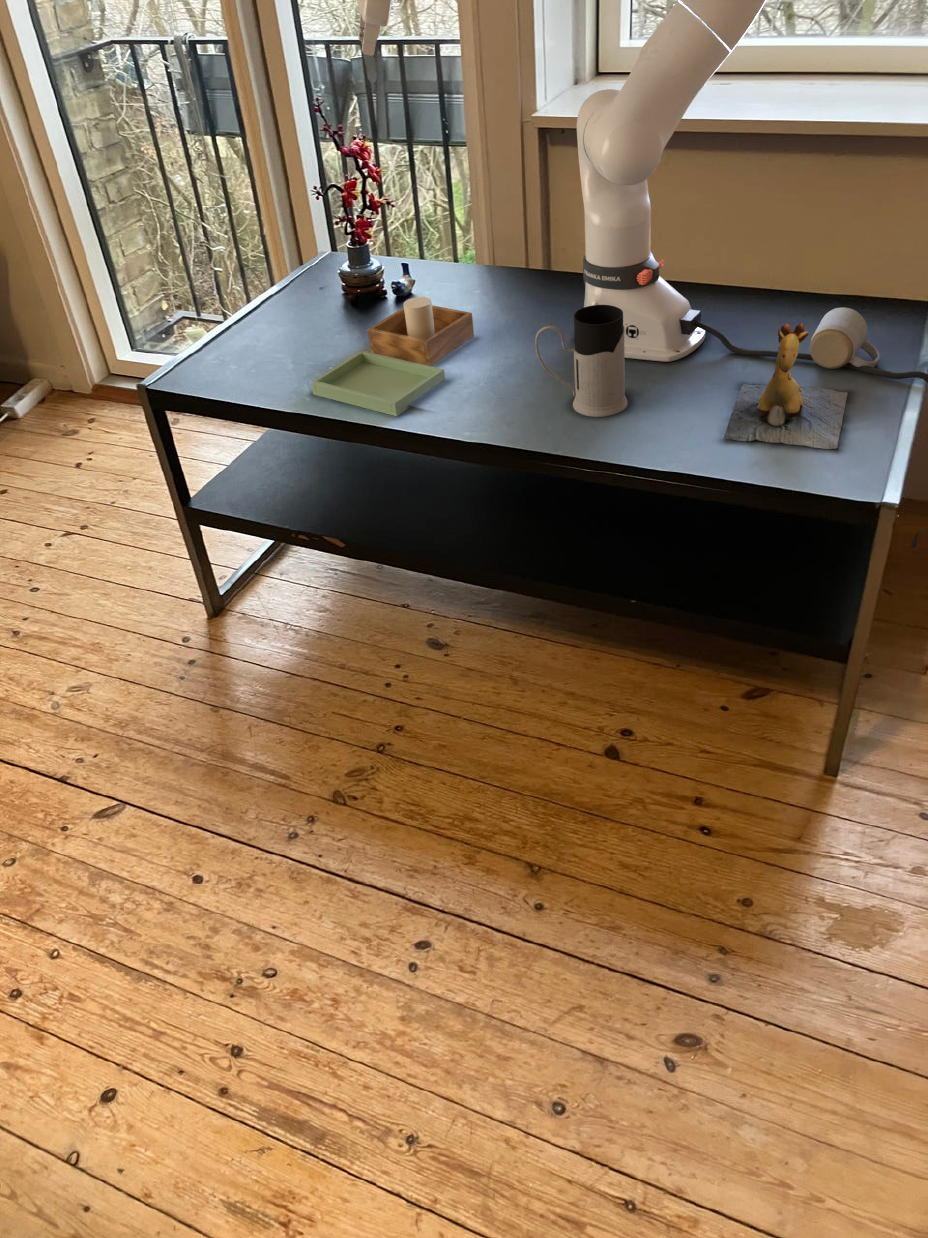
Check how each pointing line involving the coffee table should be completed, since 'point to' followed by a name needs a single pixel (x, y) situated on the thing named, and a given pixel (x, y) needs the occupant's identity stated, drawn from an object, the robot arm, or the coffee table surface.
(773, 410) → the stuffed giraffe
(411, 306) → the candle
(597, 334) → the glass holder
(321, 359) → the coffee table surface
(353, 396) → the tray
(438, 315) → the wooden box
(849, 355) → the ceramic mug
